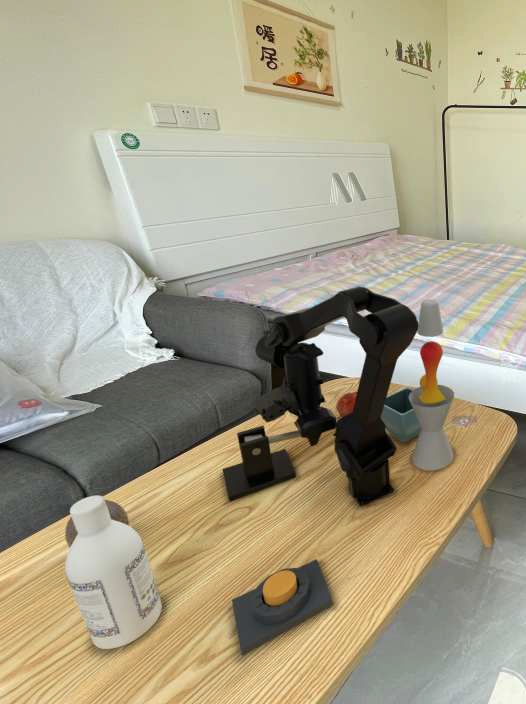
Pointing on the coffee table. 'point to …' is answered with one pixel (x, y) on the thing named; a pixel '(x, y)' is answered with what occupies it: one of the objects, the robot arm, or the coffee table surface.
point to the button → (280, 588)
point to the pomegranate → (346, 404)
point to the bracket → (257, 466)
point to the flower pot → (400, 416)
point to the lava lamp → (431, 396)
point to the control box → (280, 608)
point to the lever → (275, 437)
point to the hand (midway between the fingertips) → (311, 441)
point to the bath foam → (110, 576)
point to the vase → (115, 514)
